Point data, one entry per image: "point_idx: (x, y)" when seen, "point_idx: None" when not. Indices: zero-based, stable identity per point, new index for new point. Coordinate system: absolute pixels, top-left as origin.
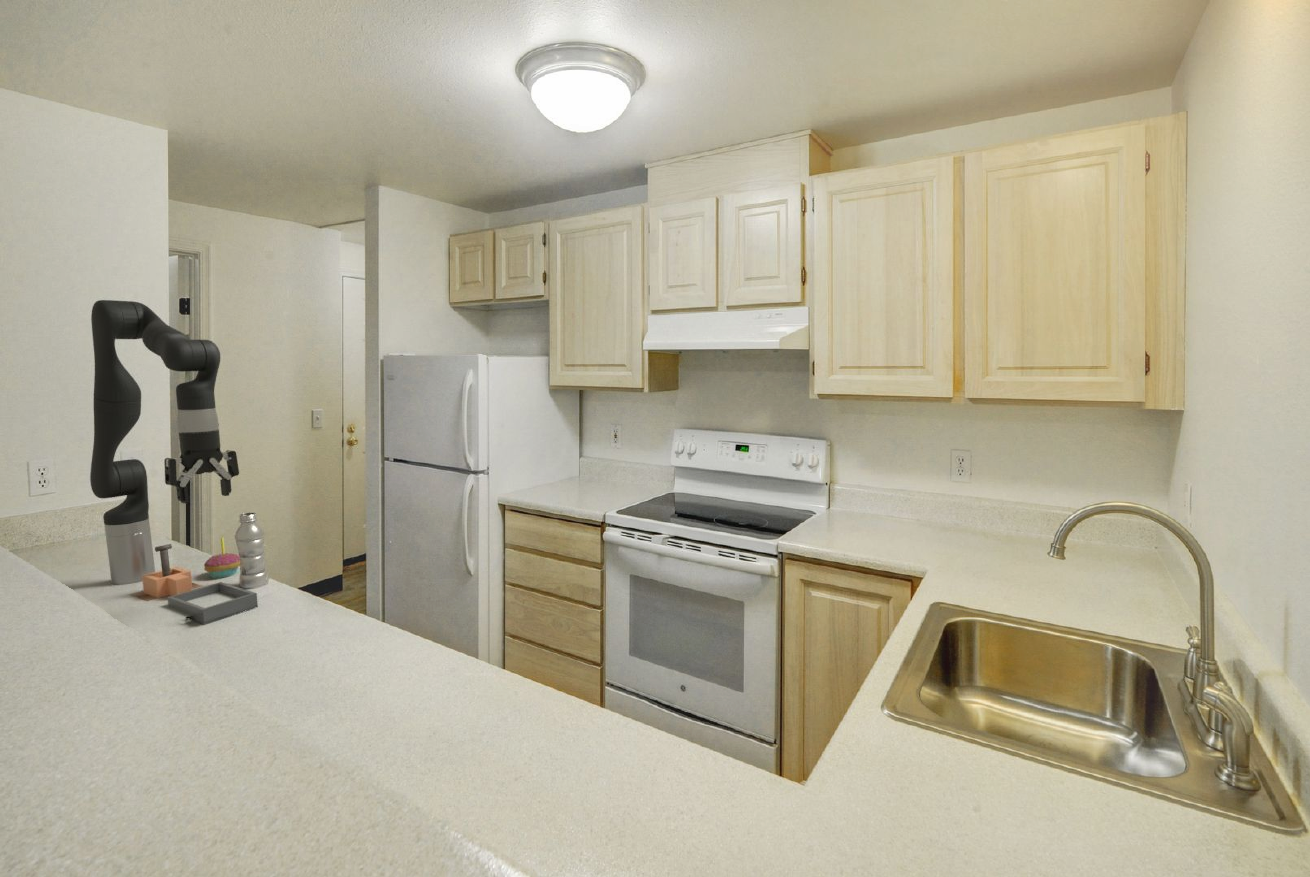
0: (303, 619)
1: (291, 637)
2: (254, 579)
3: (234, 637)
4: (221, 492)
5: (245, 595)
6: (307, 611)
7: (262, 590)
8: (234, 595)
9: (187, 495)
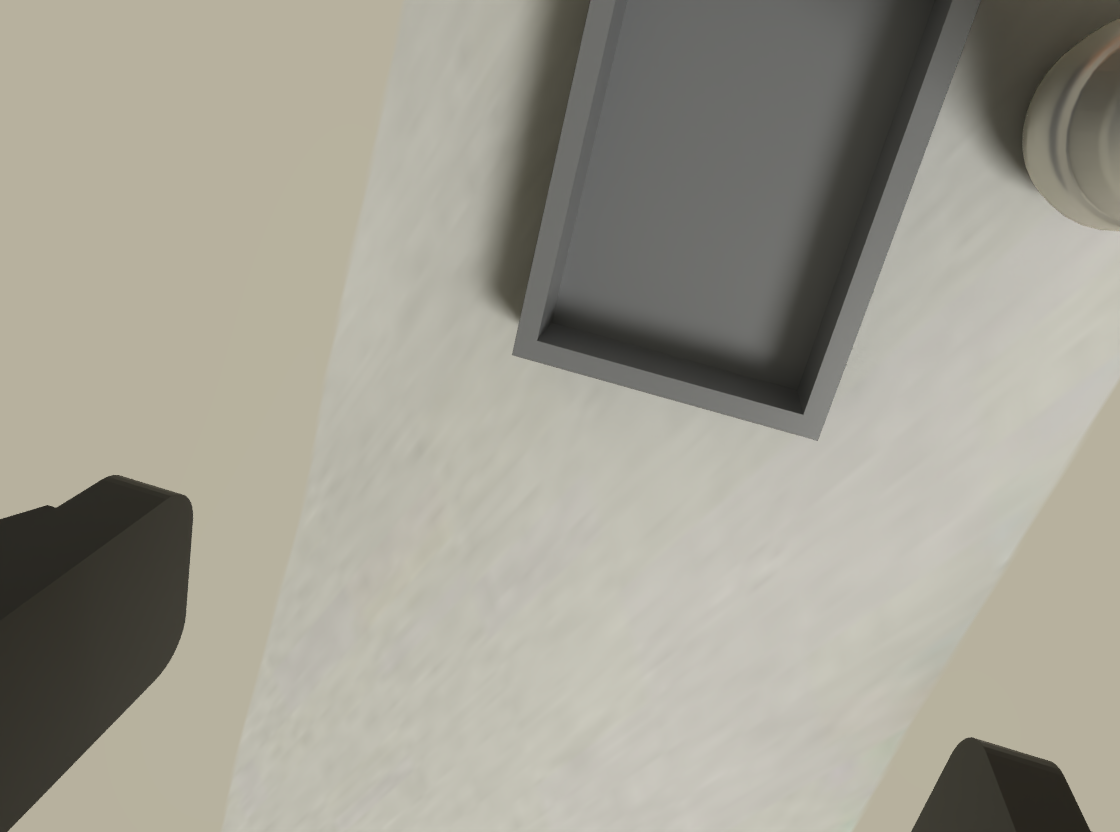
0: (711, 741)
1: (537, 808)
2: (1071, 206)
3: (466, 595)
4: (985, 773)
5: (767, 405)
6: (805, 699)
7: None
8: (871, 196)
9: (59, 759)
